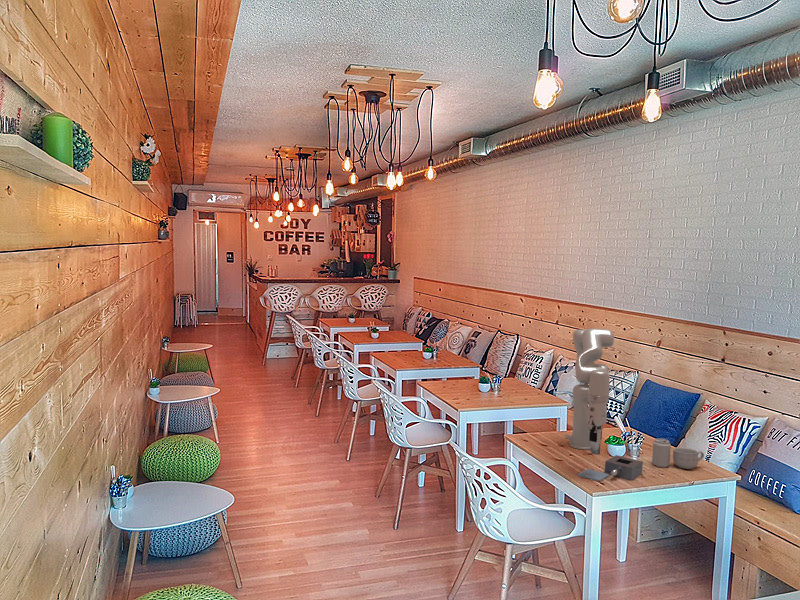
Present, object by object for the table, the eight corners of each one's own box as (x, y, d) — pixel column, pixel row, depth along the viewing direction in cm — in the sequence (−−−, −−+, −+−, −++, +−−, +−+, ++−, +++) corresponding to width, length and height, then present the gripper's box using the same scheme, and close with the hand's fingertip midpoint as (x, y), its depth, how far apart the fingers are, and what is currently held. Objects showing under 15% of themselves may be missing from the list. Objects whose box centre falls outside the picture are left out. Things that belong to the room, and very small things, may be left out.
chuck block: (598, 476, 264) (599, 464, 263) (615, 466, 277) (616, 455, 277) (626, 484, 256) (626, 471, 255) (641, 473, 269) (642, 461, 269)
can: (671, 468, 277) (672, 443, 276) (653, 467, 278) (655, 441, 278) (667, 463, 284) (668, 438, 283) (650, 462, 286) (651, 437, 285)
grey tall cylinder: (597, 455, 261) (599, 423, 260) (588, 453, 263) (590, 421, 262) (601, 453, 264) (603, 421, 263) (592, 451, 266) (594, 419, 265)
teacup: (676, 470, 275) (677, 452, 275) (668, 462, 286) (669, 445, 286) (708, 472, 274) (709, 455, 273) (699, 464, 284) (701, 447, 284)
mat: (577, 475, 264) (577, 474, 264) (587, 470, 271) (587, 468, 271) (599, 482, 257) (599, 480, 257) (609, 476, 265) (609, 474, 265)
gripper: (597, 403, 253) (595, 446, 254) (613, 397, 266) (611, 438, 267) (580, 400, 258) (578, 442, 259) (597, 394, 271) (595, 434, 272)
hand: (595, 439), depth 263 cm, fingers closed on grey tall cylinder, 4 cm apart
